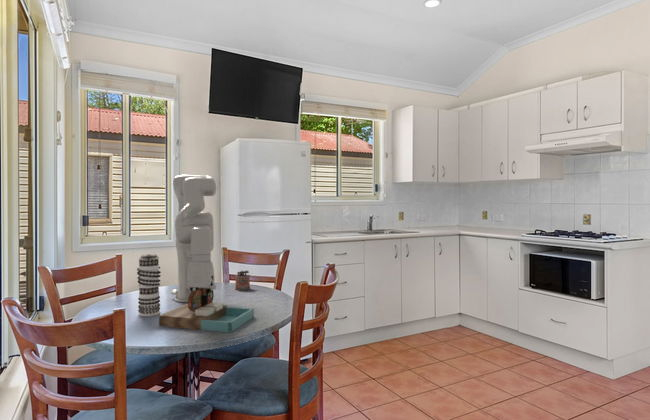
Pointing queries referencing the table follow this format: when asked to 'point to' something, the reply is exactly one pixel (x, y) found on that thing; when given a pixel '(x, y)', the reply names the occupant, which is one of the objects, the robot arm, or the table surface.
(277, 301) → the table surface
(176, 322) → the plate
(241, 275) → the lighter
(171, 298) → the table surface
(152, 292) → the decorative candle
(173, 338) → the table surface
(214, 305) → the cream tile
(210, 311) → the cream tile
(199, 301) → the tin
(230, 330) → the box
